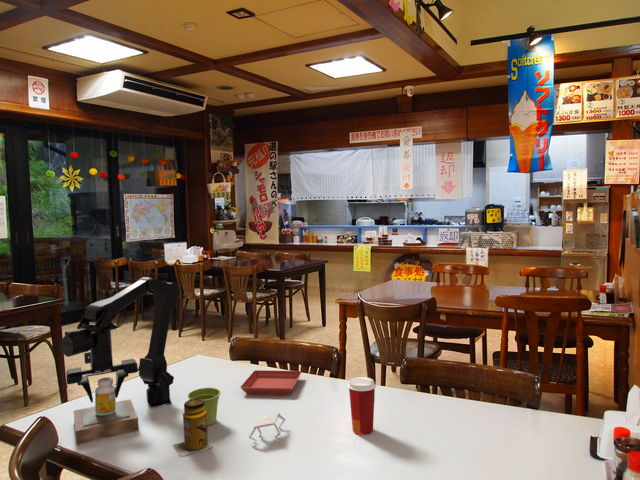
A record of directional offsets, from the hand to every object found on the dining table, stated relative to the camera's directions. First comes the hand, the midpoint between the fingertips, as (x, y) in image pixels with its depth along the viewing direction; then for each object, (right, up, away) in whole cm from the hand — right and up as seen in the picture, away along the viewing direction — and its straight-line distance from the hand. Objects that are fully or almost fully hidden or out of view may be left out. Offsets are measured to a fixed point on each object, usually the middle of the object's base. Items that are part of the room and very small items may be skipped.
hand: (104, 399), depth 143 cm
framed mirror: (0, -8, 0) cm, 8 cm away
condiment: (+29, -8, -13) cm, 33 cm away
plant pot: (+29, -7, +1) cm, 30 cm away
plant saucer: (+46, -5, +29) cm, 55 cm away
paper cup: (+75, -6, -7) cm, 75 cm away
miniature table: (+50, -7, -9) cm, 51 cm away
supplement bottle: (0, -4, 0) cm, 4 cm away
